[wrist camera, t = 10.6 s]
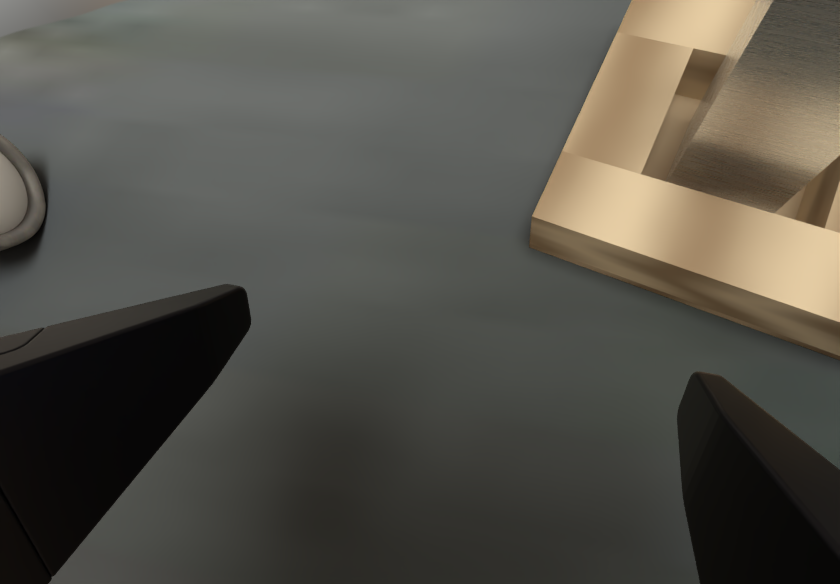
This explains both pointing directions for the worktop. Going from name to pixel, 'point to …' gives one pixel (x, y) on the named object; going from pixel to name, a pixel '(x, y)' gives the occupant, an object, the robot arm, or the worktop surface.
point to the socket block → (686, 190)
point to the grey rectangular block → (768, 108)
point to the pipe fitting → (18, 197)
